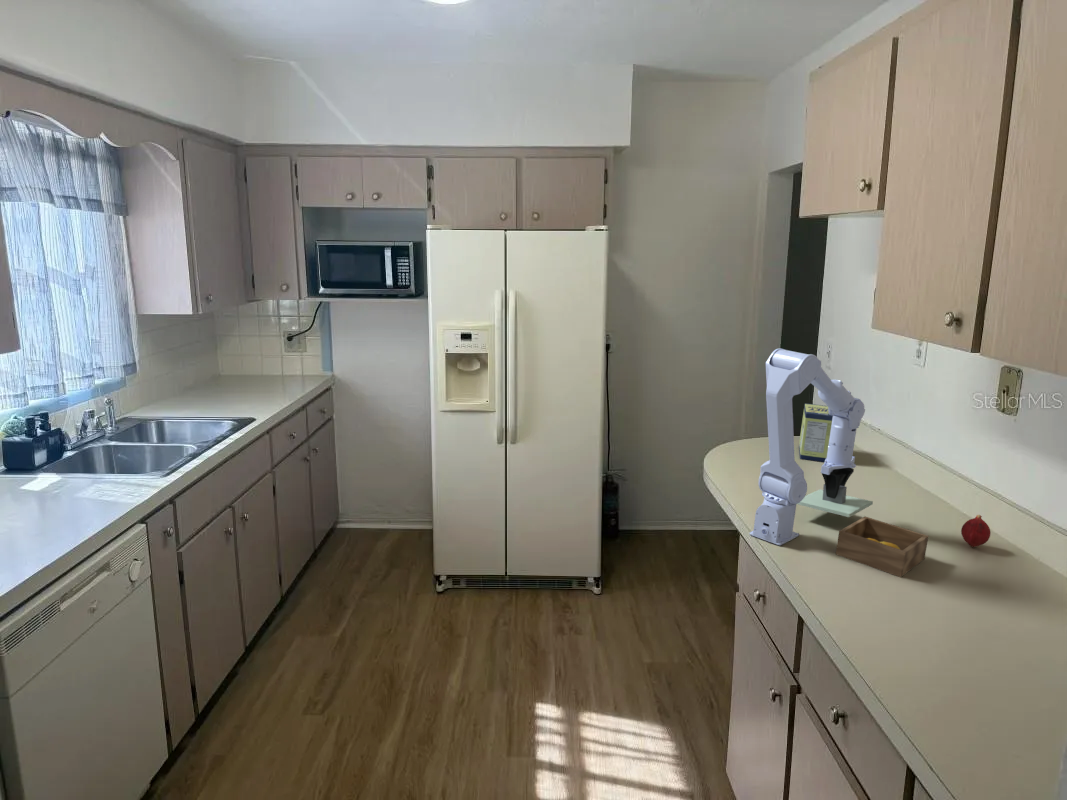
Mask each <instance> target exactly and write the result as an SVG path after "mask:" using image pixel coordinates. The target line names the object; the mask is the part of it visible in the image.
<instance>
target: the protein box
mask: <svg viewBox="0 0 1067 800" xmlns="http://www.w3.org/2000/svg"><path fill="white" fill-rule="evenodd" d="M803 407H804V408H803V414H802V420H801V428H800V435H799V441H798V453H799V454H798V455H799V459H800V460H805V461H806V460H807V461H813V462H814V461H815V462H822V463H824V462H825V459H826V458H827V452H828V445H829V438H830V432H831V425H832V418H833V416H831V415H829V412H828V406H827V405H821V404H813V403H806V402H805V403H804V405H803Z"/></svg>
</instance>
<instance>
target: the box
mask: <svg viewBox="0 0 1067 800" xmlns="http://www.w3.org/2000/svg"><path fill="white" fill-rule="evenodd" d="M929 537H930V536H929V535H927V534H923V533H921V532H916V531H913V530H910V529H907V528H904V527H902V526H901V527H900V526H897V525H894V524H891V523H888V522H884V521H881V520H878V519H875V518H871V517H869V516H863V517H861V518H860V519H858V520H856V521H854V522H852V523H851V524H849V525H847V526H845V527H844V528H842V529H840V530H839V531H838V537H837V541H836V542H837V543H836V547H835V548H836V549H835V555H837V556H839V557H842V558H845V559H848V560H851V561H854V562H856V563H859V564H862V565H864V566H868V567H871V568H874V569H876V570H880V571H882V572H885V573H887V574H890V575H893V576H896V577H899V578H902V577H903V576H905V575H906V574H907V573H909V571H911V570H912V569H914V568H915V567H917V566H918V565H919V564H920V563H921V562H923V561H924V560H925V557H926V554H927V548H928V546H927V545H928V542H929ZM866 538H872V539H875V540H877V541H879V542H889V543H893V544H895V545H897V546H898V547H899V548H900V549H901V550H900V549H897V548H894V547H891V546H888V545H885V544H882V543H878V542H875V541H872V540H869V539H866Z"/></svg>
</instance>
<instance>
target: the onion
mask: <svg viewBox="0 0 1067 800" xmlns="http://www.w3.org/2000/svg"><path fill="white" fill-rule="evenodd" d="M982 517H983V516H982V515H980V514H976V516H975V517H974V518H970V519H968V520H967V521H965V522H964V524H963V525H962V526H961V531H960V532H961V536H962V539H963V541H965V543H966V544H968V545H969V546H970V547H971V548H977V547H979V546H983V545H985V544H986V543H987V542H989V540H990V538H991V529H990V526H989V525H988V524H987V522H986V521H985V520H983V519H982Z"/></svg>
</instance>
